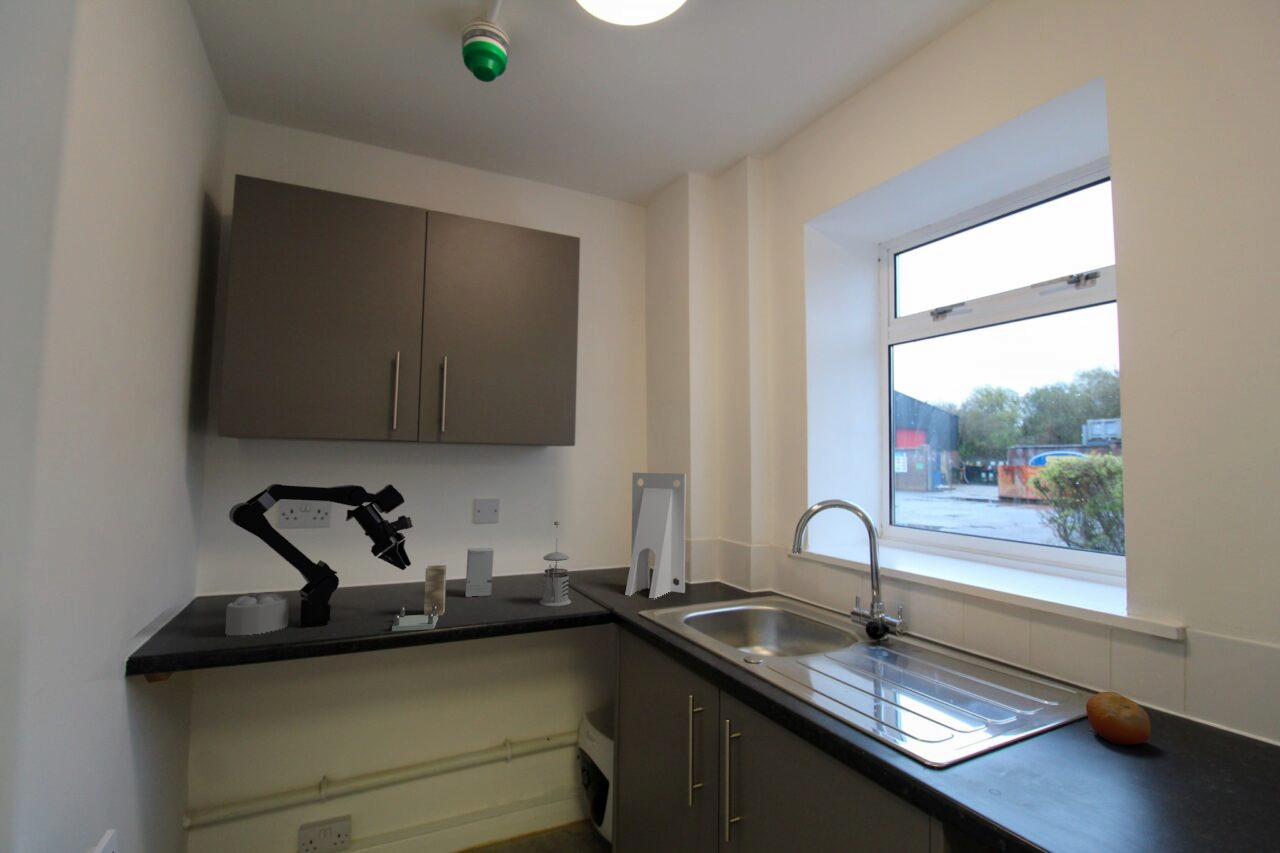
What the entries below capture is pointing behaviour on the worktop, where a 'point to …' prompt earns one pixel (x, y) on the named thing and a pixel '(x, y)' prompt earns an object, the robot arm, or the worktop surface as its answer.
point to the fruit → (1118, 719)
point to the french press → (555, 581)
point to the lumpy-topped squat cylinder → (257, 614)
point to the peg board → (415, 621)
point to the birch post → (435, 589)
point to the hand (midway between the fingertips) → (407, 567)
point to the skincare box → (479, 572)
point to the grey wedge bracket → (658, 533)
